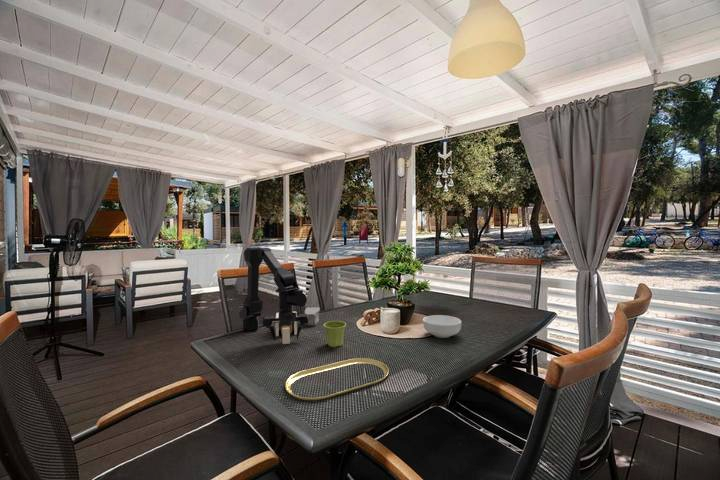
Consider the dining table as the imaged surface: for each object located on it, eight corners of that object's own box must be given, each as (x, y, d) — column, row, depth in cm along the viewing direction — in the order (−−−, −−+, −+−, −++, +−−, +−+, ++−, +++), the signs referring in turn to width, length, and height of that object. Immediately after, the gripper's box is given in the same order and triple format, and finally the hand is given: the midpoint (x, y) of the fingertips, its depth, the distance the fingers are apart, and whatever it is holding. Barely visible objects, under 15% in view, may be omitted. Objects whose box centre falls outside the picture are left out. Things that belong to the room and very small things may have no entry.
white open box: (275, 336, 143) (275, 318, 143) (276, 329, 153) (276, 312, 152) (297, 334, 145) (296, 317, 145) (296, 327, 155) (296, 311, 154)
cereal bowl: (457, 329, 151) (457, 314, 151) (465, 342, 135) (465, 325, 135) (421, 328, 153) (421, 314, 153) (424, 340, 137) (424, 324, 136)
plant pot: (343, 349, 127) (342, 328, 127) (320, 348, 129) (320, 327, 129) (348, 341, 136) (348, 321, 136) (327, 339, 138) (327, 320, 138)
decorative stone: (317, 318, 172) (299, 319, 168) (318, 305, 172) (299, 306, 168) (324, 326, 159) (305, 328, 155) (325, 312, 158) (305, 314, 155)
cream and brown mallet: (280, 344, 133) (279, 330, 133) (281, 330, 151) (281, 317, 151) (292, 343, 134) (292, 329, 134) (292, 329, 152) (291, 317, 152)
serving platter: (277, 381, 102) (277, 376, 102) (369, 358, 120) (369, 354, 120) (297, 410, 86) (296, 404, 86) (400, 378, 104) (400, 374, 103)
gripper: (261, 309, 125) (261, 348, 125) (309, 306, 129) (309, 344, 129) (263, 302, 135) (264, 338, 136) (307, 300, 139) (307, 335, 140)
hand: (286, 339), depth 135 cm, fingers open, 9 cm apart
